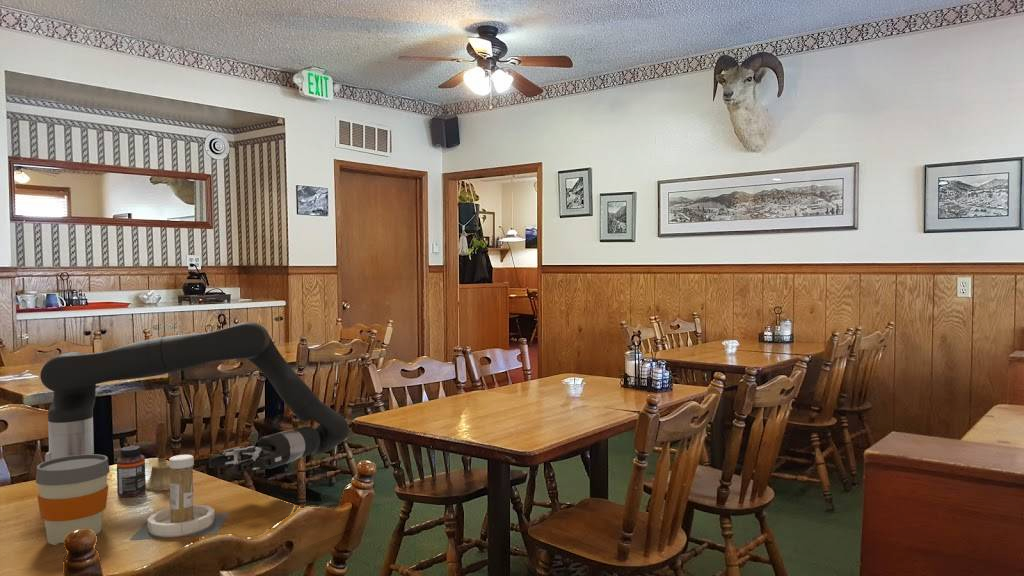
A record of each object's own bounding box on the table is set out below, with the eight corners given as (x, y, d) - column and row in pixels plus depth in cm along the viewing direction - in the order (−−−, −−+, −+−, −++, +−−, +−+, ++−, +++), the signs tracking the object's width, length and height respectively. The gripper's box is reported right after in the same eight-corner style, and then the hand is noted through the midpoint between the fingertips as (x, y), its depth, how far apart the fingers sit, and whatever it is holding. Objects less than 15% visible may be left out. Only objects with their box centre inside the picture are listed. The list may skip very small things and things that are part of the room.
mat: (129, 543, 136) (129, 540, 136) (149, 521, 147) (149, 518, 147) (216, 536, 139) (216, 533, 138) (229, 516, 150) (229, 513, 150)
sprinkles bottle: (195, 523, 142) (195, 457, 142) (171, 527, 140) (170, 460, 140) (192, 516, 146) (191, 452, 146) (168, 520, 144) (167, 455, 143)
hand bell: (186, 485, 173) (185, 421, 172) (151, 493, 166) (150, 427, 166) (172, 479, 178) (170, 417, 178) (137, 487, 172) (136, 422, 171)
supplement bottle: (124, 491, 168) (123, 444, 168) (150, 490, 168) (149, 444, 168) (112, 499, 162) (111, 451, 162) (139, 498, 163) (138, 450, 162)
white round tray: (140, 539, 136) (139, 527, 136) (159, 518, 148) (159, 506, 148) (205, 534, 138) (205, 522, 138) (219, 514, 150) (219, 502, 150)
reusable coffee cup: (32, 553, 131) (30, 474, 131) (41, 532, 142) (39, 458, 142) (109, 541, 137) (107, 465, 136) (112, 521, 148) (110, 451, 147)
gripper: (259, 429, 169) (200, 445, 155) (302, 435, 162) (245, 452, 148) (259, 460, 169) (201, 478, 155) (302, 467, 162) (245, 487, 148)
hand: (222, 465), depth 152 cm, fingers open, 8 cm apart
